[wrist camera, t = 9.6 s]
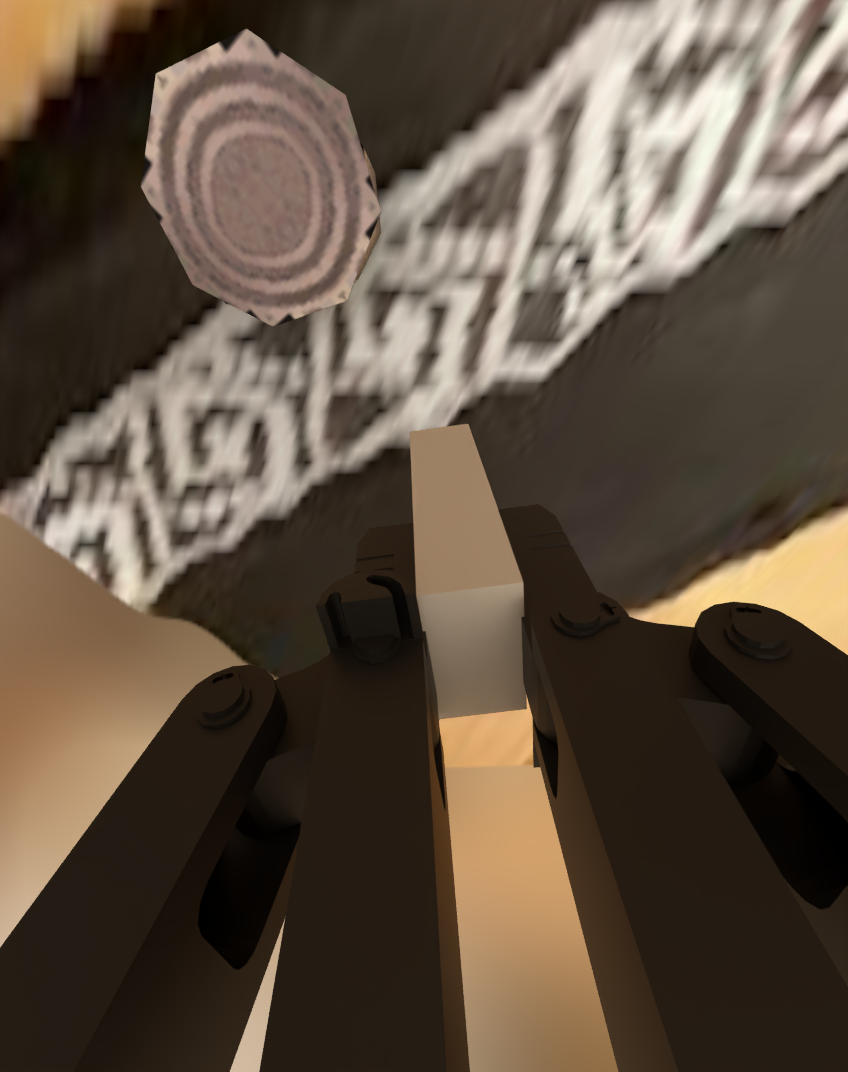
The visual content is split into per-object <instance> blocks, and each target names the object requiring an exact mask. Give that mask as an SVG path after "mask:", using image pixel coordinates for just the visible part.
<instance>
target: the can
mask: <svg viewBox="0 0 848 1072" xmlns="http://www.w3.org/2000/svg"><path fill="white" fill-rule="evenodd" d="M141 188H142V190H143V192H144V193H145V195H146V197H147V199H148V201H149V203H150V205H151V207H152V209H153V211H154V212H155V214H156V216H157V218H158V220H159V222H160V224H161V226H162V228H163V229H164V231H165V233H166V235H167V237H168V239H169V241H170V243H171V246H172V249H173V250H174V251H175V252H176V254H177V256H178V258H179V260H180V262H181V263H182V265H183V267H184V269H185V271H186V273H187V275H188V277H189V279H190V280H191V282H192V284H193V285H194V286H196V287H198V288H200V289H201V290H203V291H205V292H207V293H209V294H211V295H213V296H215V297H217V298H219V299H221V300H223V301H224V302H225V303H226V304H230V305H232V306H234V307H236V308H238V309H240V310H242V311H244V312H246V313H248V314H250V315H252V316H254V317H255V318H257V319H259V320H261V321H263V322H265V323H267V324H269V325H271V326H273V327H274V326H277V325H279V324H282V323H285V322H288V321H291V320H294V319H296V318H299V317H302V316H305V315H308V314H311V313H313V312H316V311H319V310H322V309H325V308H328V307H330V306H333V305H336V304H339V303H342V302H345V301H347V299H348V296H349V294H350V291H351V289H352V286H353V284H354V283H355V282H356V281H357V280H358V279H359V277H360V274H361V272H362V270H363V268H364V266H365V264H366V262H367V260H368V258H369V256H370V254H371V252H372V250H373V248H374V246H375V244H376V242H377V240H378V238H379V235H380V233H381V228H380V218H379V216H380V213H381V210H380V207H379V204H378V198H377V188H376V178H375V172H374V169H373V167H372V165H371V163H370V161H369V158H368V156H367V154H366V152H365V150H364V148H363V146H362V145H361V143H360V141H359V138H358V135H357V131H356V128H355V125H354V121H353V118H352V115H351V112H350V108H349V105H348V102H347V98H346V95H345V94H343V93H342V92H340V91H339V90H337V89H336V88H334V87H333V86H331V85H330V84H328V83H327V82H325V81H324V80H322V79H321V78H319V77H318V76H316V75H315V74H313V73H312V72H310V71H309V70H307V69H306V68H304V67H303V66H301V65H300V64H298V63H297V62H295V61H294V60H292V59H291V58H289V57H288V56H286V55H285V54H283V53H282V52H280V51H279V50H277V49H276V48H274V47H273V46H271V45H270V44H268V43H267V42H265V41H264V40H262V39H261V38H259V37H258V36H256V35H255V34H253V33H252V32H250V31H249V30H247V29H245V30H243V31H241V32H239V33H237V34H235V35H233V36H231V37H229V38H227V39H225V40H223V41H221V42H219V43H217V44H215V45H213V46H211V47H209V48H207V49H205V50H203V51H201V52H199V53H197V54H195V55H193V56H191V57H189V58H187V59H185V60H183V61H181V62H179V63H177V64H175V65H173V66H171V67H169V68H167V69H165V70H163V71H161V72H159V73H157V74H156V78H155V85H154V93H153V100H152V108H151V115H150V122H149V130H148V137H147V145H146V152H145V160H144V167H143V174H142V182H141Z"/></svg>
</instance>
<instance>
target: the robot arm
mask: <svg viewBox="0 0 848 1072" xmlns="http://www.w3.org/2000/svg"><path fill="white" fill-rule="evenodd" d="M410 448H411V473H412V498H413V523H408V524H400V525H393V526H385V527H378V528H370V529H369V531H368V532H367V533H366V534H365V536H364V537H363V538H362V539H361V541H360V542H359V543H358V550H357V557H356V561H357V562H356V564H355V571H354V574H350V575H348V576H346V577H344V578H342V579H340V580H338V581H336V582H335V583H333V584H332V585H331V586H330V587H329V588H328V589H327V590H326V591H325V592H323V593H322V595H321V597H320V599H319V601H318V603H317V605H316V608H317V611H318V614H319V617H320V620H321V623H322V626H323V629H324V632H325V635H326V638H327V641H328V644H329V647H330V654H329V655H327V656H326V657H324V658H323V659H322V660H320V661H319V662H317V663H315V664H313V665H311V666H309V667H307V668H305V669H302V670H300V671H297V672H295V673H292V674H289V675H287V676H284V677H282V678H279V679H276V680H274V678H273V677H272V676H271V675H270V674H269V673H268V672H267V671H266V670H265V669H264V668H260V667H256V666H253V665H242V666H232V667H230V668H227V669H224V670H221V671H219V672H216V673H214V674H212V675H211V676H209V677H208V678H206V679H204V680H203V681H201V682H200V683H198V684H197V685H196V686H195V687H194V688H193V689H192V690H191V691H190V692H189V693H188V694H187V695H186V696H185V697H184V698H183V699H182V700H181V702H180V703H179V704H178V706H177V707H176V709H175V710H174V711H173V713H172V714H171V715H170V717H169V718H168V720H167V721H166V722H165V724H164V725H163V727H162V728H161V729H160V731H159V732H158V733H157V735H156V736H155V737H154V739H153V740H152V741H151V743H150V744H149V745H148V747H147V748H146V750H145V751H144V752H143V754H142V755H141V756H140V758H139V759H138V761H137V762H136V763H135V765H134V766H133V767H132V769H131V770H130V771H129V773H128V774H127V775H126V777H125V778H124V780H123V781H122V782H121V784H120V785H119V786H118V788H117V789H116V790H115V792H114V793H113V795H112V796H111V797H110V799H109V800H108V801H107V803H106V804H105V806H104V807H103V808H102V810H101V811H100V812H99V814H98V815H97V816H96V818H95V819H94V821H93V822H92V823H91V825H90V826H89V827H88V829H87V830H86V831H85V833H84V834H83V836H82V837H81V838H80V840H79V841H78V842H77V844H76V845H75V846H74V848H73V849H72V850H71V852H70V853H69V855H68V856H67V857H66V859H65V860H64V862H63V863H62V864H61V865H60V867H59V868H58V870H57V871H56V872H55V874H54V875H53V876H52V878H51V879H50V880H49V882H48V883H47V885H46V886H45V887H44V889H43V890H42V891H41V893H40V894H39V896H38V897H37V898H36V900H35V901H34V903H33V904H32V905H31V906H30V908H29V909H28V910H27V912H26V913H25V915H24V916H23V917H22V919H21V920H20V921H19V923H18V924H17V925H16V927H15V928H14V930H13V931H12V932H11V934H10V935H9V937H8V938H7V939H6V940H5V942H4V943H3V945H2V946H1V948H0V1072H230V1069H231V1066H232V1064H233V1061H234V1058H235V1055H236V1052H237V1050H238V1046H239V1044H240V1041H241V1039H242V1036H243V1033H244V1030H245V1027H246V1025H247V1022H248V1019H249V1016H250V1014H251V1011H252V1008H253V1005H254V1002H255V1000H256V997H257V994H258V991H259V989H260V986H261V983H262V980H263V977H264V975H265V972H266V969H267V966H268V963H269V961H270V958H271V955H272V952H273V949H274V947H275V944H276V941H277V939H278V936H279V933H280V930H281V927H282V925H283V922H284V919H285V923H284V929H283V935H282V941H281V948H280V953H279V959H278V965H277V971H276V976H275V982H274V988H273V995H272V1000H271V1006H270V1012H269V1018H268V1024H267V1030H266V1036H265V1042H264V1048H263V1054H262V1060H261V1065H260V1072H470V1068H469V1056H468V1044H467V1032H466V1019H465V1007H464V995H463V983H462V971H461V960H460V947H459V936H458V923H457V911H456V899H455V886H454V874H453V863H452V850H451V840H450V839H451V838H450V826H449V814H448V802H447V790H446V778H445V766H444V754H443V746H442V741H441V735H440V729H439V719H445V718H453V717H462V716H470V715H479V714H487V713H496V712H504V711H513V710H521V709H527V705H526V694H527V698H528V702H529V705H530V709H531V713H532V717H533V762H534V767H540V768H541V771H542V775H543V779H544V783H545V787H546V791H547V795H548V799H549V803H550V806H551V810H552V814H553V818H554V822H555V826H556V830H557V834H558V838H559V842H560V845H561V849H562V853H563V857H564V861H565V865H566V869H567V873H568V877H569V880H570V884H571V888H572V892H573V896H574V900H575V904H576V908H577V912H578V916H579V920H580V923H581V927H582V931H583V935H584V939H585V943H586V947H587V950H588V955H589V958H590V962H591V966H592V970H593V974H594V978H595V982H596V985H597V990H598V994H599V997H600V1001H601V1005H602V1009H603V1013H604V1017H605V1021H606V1024H607V1029H608V1032H609V1036H610V1040H611V1044H612V1048H613V1052H614V1056H615V1060H616V1064H617V1067H618V1071H619V1072H848V655H847V654H845V653H844V652H842V651H841V650H839V649H838V648H836V647H835V646H834V645H832V644H831V643H829V642H828V641H826V640H825V639H823V638H822V637H821V636H819V635H818V634H816V633H815V632H813V631H812V630H810V629H809V628H807V627H806V626H805V625H803V624H802V623H800V622H799V621H797V620H795V619H793V618H791V617H789V616H787V615H785V614H784V613H782V612H780V611H778V610H774V609H771V608H768V607H764V606H761V605H757V604H751V603H740V602H729V603H723V604H716V605H713V606H712V607H710V608H708V609H706V610H704V611H703V612H701V614H700V616H699V618H698V620H697V622H696V624H695V627H685V626H676V625H667V624H657V623H651V622H646V621H640V620H637V619H634V618H632V617H629V615H628V614H627V612H626V611H625V610H624V609H623V608H622V607H621V606H620V605H619V604H618V602H617V601H615V600H613V599H611V598H609V597H608V596H606V595H604V594H602V593H599V592H597V591H596V589H595V587H594V586H593V584H592V582H591V580H590V578H589V576H588V575H587V573H586V571H585V569H584V567H583V565H582V564H581V562H580V560H579V558H578V556H577V554H576V553H575V551H574V549H573V547H572V546H570V542H569V540H568V538H567V536H566V534H565V533H563V529H562V527H561V525H560V523H559V521H558V520H557V518H556V516H555V515H554V514H552V513H551V512H549V511H548V510H546V509H545V508H543V507H542V506H540V505H539V504H536V505H529V506H522V507H514V508H507V509H499V510H498V508H497V505H496V502H495V500H494V497H493V494H492V491H491V488H490V485H489V482H488V479H487V477H486V474H485V471H484V468H483V465H482V462H481V459H480V457H479V454H478V451H477V448H476V445H475V442H474V439H473V437H472V434H471V431H470V428H469V425H468V424H463V425H456V426H448V427H441V428H434V429H427V430H420V431H413V432H410ZM285 916H286V917H285Z"/></svg>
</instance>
